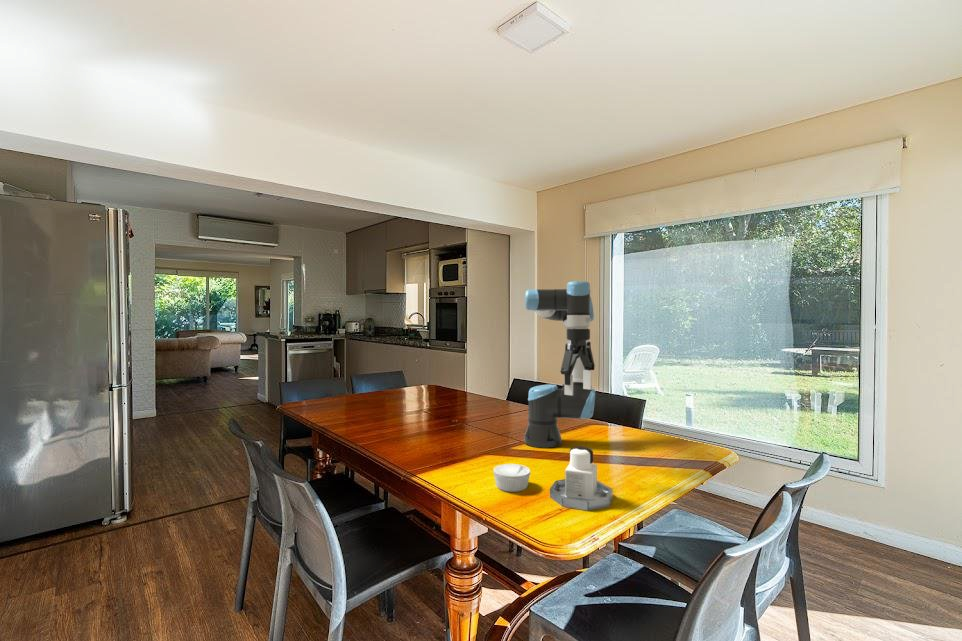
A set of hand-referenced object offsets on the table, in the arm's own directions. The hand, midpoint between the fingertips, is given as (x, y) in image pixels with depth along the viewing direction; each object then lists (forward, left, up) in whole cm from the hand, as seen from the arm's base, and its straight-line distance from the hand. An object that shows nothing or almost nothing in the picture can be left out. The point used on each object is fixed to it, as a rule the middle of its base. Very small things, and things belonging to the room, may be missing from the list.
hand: (578, 392), depth 151 cm
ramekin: (-16, -21, -27) cm, 38 cm away
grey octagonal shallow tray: (+5, -21, -27) cm, 34 cm away
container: (+5, -21, -26) cm, 34 cm away
